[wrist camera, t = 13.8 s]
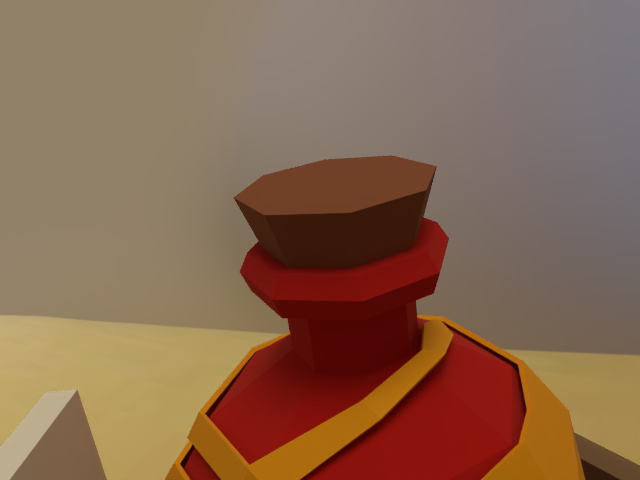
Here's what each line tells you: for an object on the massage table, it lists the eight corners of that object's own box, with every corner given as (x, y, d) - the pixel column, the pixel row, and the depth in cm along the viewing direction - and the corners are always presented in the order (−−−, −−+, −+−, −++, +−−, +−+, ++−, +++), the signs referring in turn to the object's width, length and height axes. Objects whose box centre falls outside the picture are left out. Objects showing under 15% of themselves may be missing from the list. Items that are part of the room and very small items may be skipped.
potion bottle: (492, 1100, 11) (443, 387, 5) (150, 724, 17) (-27, 237, 12) (643, 626, 18) (686, 126, 12) (362, 489, 24) (312, 122, 19)
